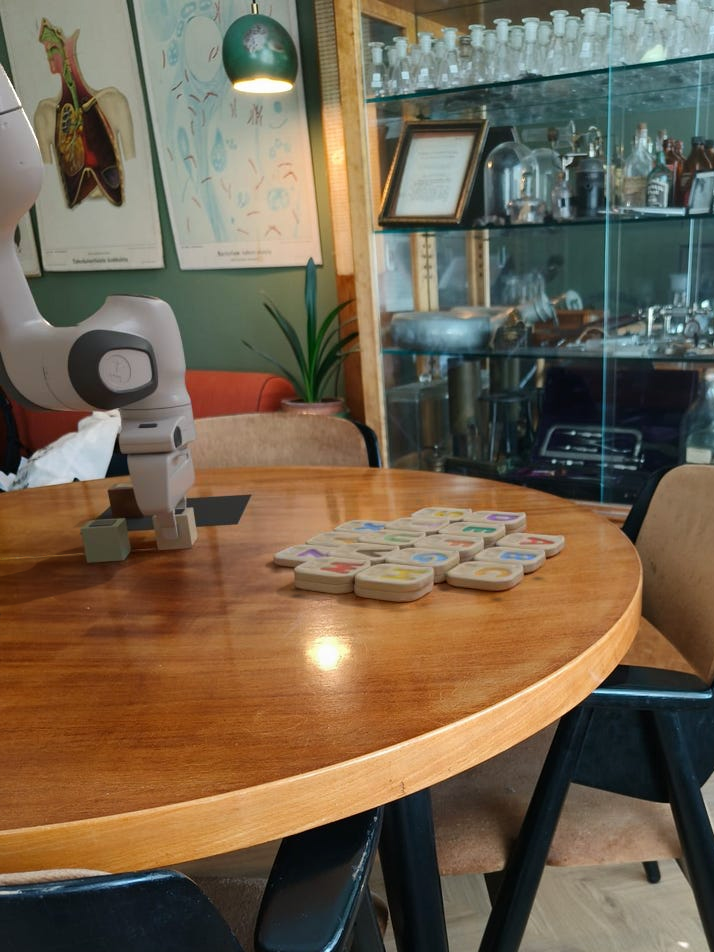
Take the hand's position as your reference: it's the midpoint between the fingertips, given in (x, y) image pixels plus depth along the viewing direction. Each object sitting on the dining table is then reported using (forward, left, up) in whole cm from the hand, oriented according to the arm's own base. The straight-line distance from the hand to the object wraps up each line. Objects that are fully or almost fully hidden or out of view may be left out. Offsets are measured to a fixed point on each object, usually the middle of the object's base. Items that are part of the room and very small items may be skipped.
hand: (176, 532), depth 119 cm
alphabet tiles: (+32, -13, -2) cm, 35 cm away
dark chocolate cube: (-10, +18, -1) cm, 21 cm away
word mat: (-4, +18, -2) cm, 19 cm away
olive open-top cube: (-8, -4, -2) cm, 9 cm away
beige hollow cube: (0, 0, -2) cm, 2 cm away
